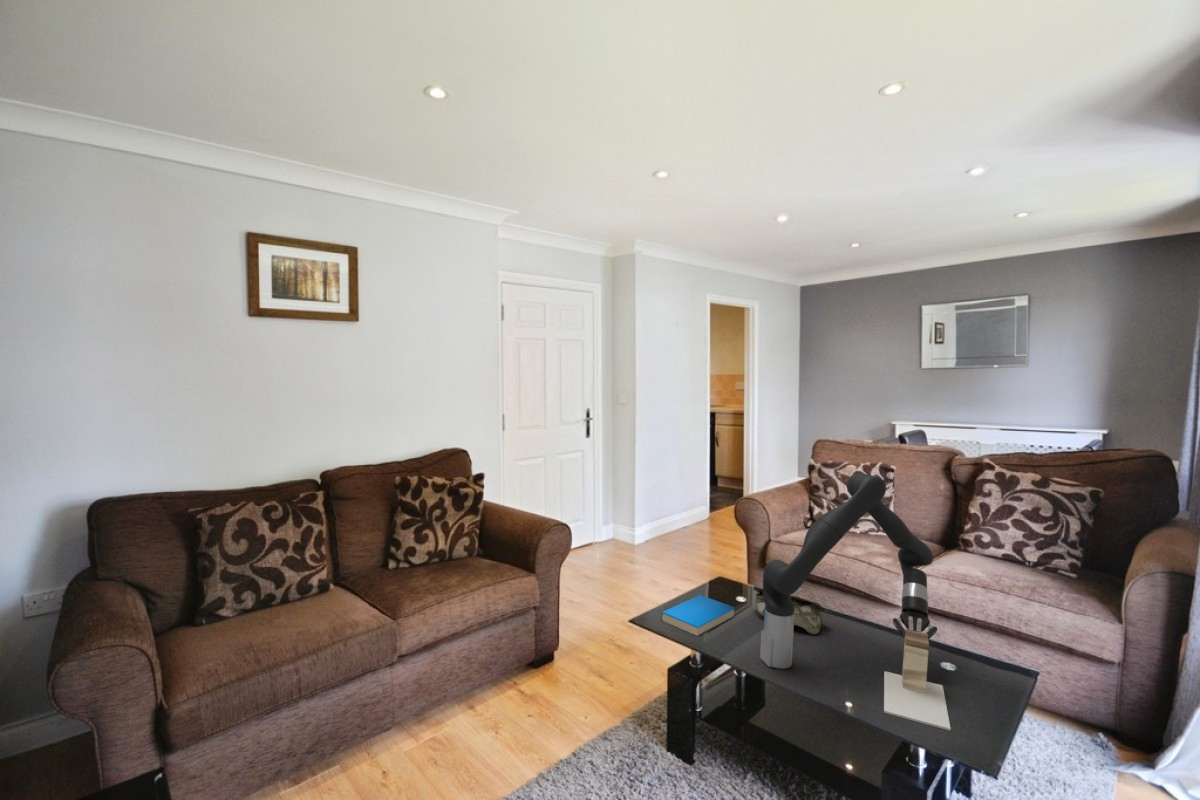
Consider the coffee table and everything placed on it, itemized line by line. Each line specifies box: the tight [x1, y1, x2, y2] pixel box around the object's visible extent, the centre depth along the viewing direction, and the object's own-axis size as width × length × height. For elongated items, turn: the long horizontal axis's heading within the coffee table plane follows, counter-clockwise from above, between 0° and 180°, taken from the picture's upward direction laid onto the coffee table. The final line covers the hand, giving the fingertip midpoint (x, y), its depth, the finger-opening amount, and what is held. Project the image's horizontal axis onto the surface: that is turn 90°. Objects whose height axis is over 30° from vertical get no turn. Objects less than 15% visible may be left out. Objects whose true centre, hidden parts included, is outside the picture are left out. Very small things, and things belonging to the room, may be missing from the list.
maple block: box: [901, 628, 930, 693], centre depth 168 cm, size 6×6×16 cm
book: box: [660, 594, 736, 637], centre depth 213 cm, size 17×4×25 cm
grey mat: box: [883, 671, 952, 732], centre depth 163 cm, size 24×16×1 cm, turn 153°
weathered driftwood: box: [752, 585, 828, 635], centre depth 211 cm, size 28×13×15 cm
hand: (914, 652), depth 171 cm, fingers closed
